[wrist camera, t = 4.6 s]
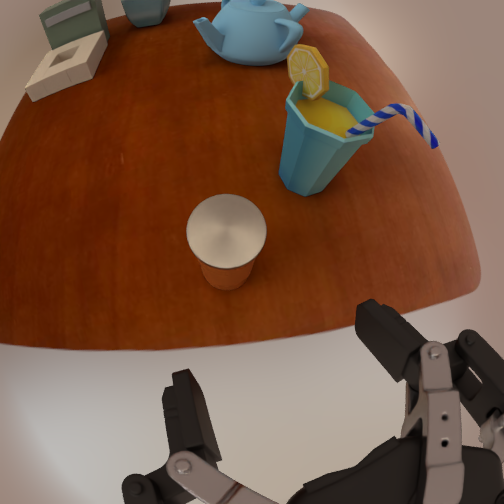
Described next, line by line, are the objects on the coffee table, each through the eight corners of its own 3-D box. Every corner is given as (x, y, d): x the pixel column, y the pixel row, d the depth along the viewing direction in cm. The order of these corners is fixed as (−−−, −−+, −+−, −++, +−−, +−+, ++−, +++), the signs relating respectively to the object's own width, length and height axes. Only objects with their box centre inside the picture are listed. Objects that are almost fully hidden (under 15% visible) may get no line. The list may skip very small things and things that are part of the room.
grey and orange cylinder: (203, 296, 24) (190, 274, 15) (197, 245, 25) (183, 199, 16) (257, 288, 24) (273, 261, 16) (248, 238, 26) (258, 189, 17)
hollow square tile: (32, 102, 30) (24, 88, 26) (53, 64, 34) (48, 51, 30) (92, 78, 32) (86, 61, 28) (107, 44, 35) (103, 30, 32)
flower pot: (137, 18, 40) (132, -11, 31) (174, 13, 40) (172, -18, 32) (126, 33, 37) (119, 0, 28) (166, 26, 38) (163, -8, 29)
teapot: (309, 79, 34) (328, 20, 24) (194, 69, 33) (191, 7, 22) (301, 38, 39) (312, -8, 28) (210, 30, 38) (210, -18, 27)
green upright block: (56, 62, 34) (37, 16, 21) (62, 53, 35) (46, 8, 22) (105, 44, 36) (92, -8, 22) (110, 36, 37) (98, -14, 23)
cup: (374, 203, 28) (454, 119, 14) (337, 249, 26) (430, 165, 12) (283, 127, 30) (312, 21, 16) (237, 160, 28) (248, 38, 14)
